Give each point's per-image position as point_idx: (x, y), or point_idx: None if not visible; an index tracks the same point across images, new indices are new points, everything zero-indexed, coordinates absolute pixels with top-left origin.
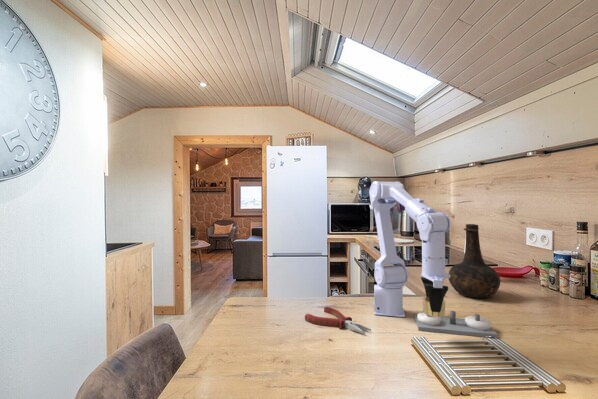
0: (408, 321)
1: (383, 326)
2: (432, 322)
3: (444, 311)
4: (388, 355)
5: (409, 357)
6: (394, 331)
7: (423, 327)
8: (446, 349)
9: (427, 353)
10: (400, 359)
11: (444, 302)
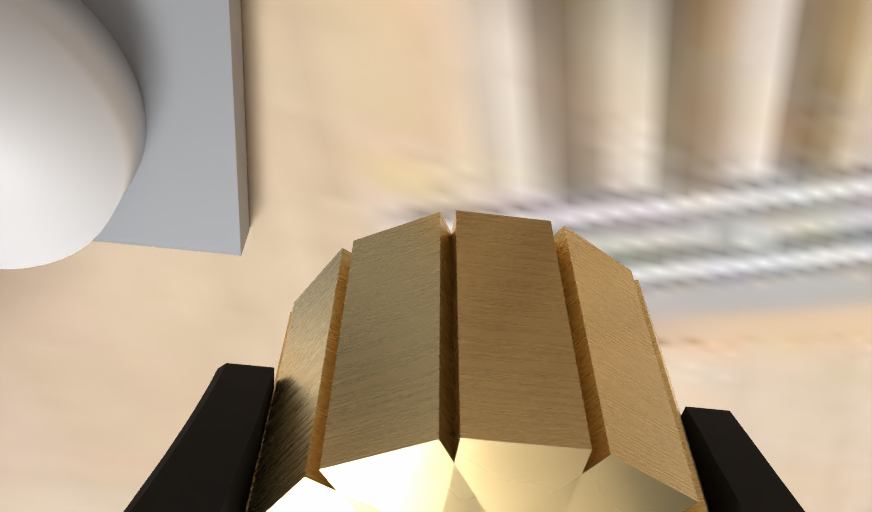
0: (2, 270)
1: None
2: (123, 113)
3: (603, 298)
4: None
5: (831, 393)
6: None
7: (237, 208)
8: (730, 74)
9: (789, 267)
10: (848, 443)
11: (644, 459)
